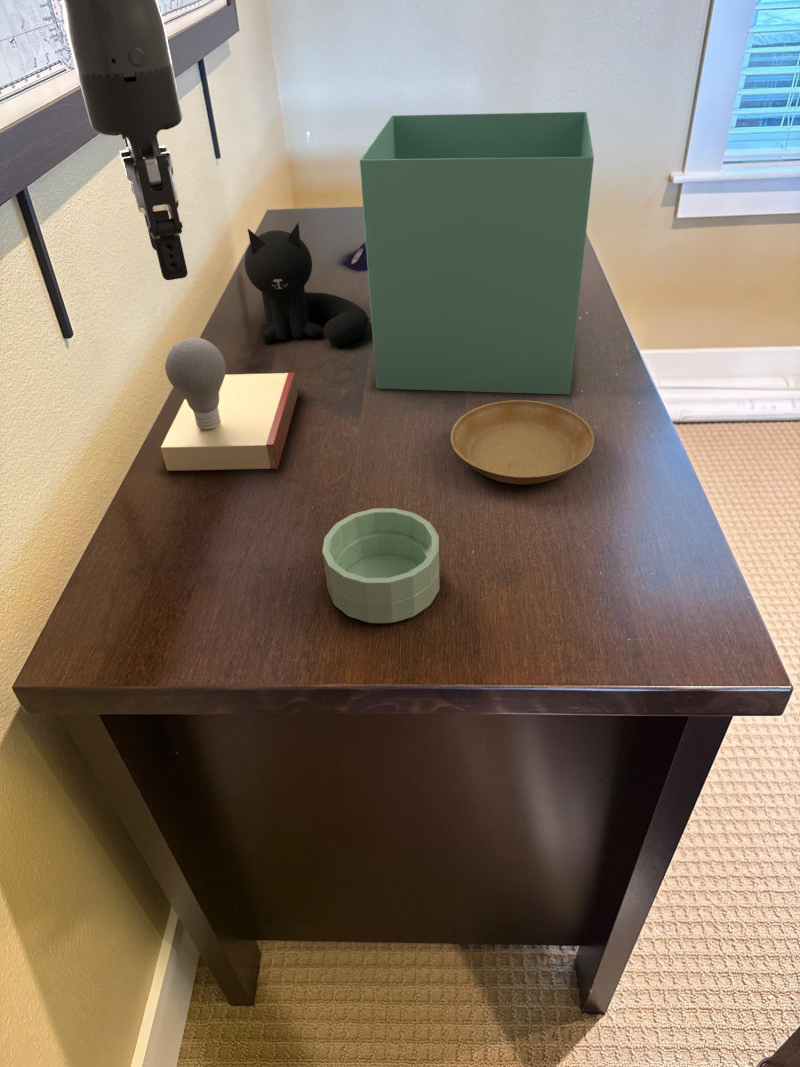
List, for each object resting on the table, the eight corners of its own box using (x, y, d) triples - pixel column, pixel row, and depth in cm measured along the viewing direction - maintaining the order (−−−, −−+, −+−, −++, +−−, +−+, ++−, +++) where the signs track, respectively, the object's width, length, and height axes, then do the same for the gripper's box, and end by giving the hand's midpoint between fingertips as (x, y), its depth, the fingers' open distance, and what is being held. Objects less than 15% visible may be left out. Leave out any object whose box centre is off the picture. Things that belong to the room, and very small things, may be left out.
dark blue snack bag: (332, 259, 131) (330, 235, 128) (402, 238, 137) (402, 215, 135) (363, 274, 125) (361, 249, 122) (435, 251, 131) (435, 227, 129)
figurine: (252, 358, 103) (231, 244, 94) (258, 315, 114) (240, 210, 104) (372, 348, 103) (363, 234, 94) (367, 307, 114) (358, 201, 105)
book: (277, 469, 82) (273, 444, 80) (167, 471, 83) (160, 447, 81) (297, 395, 95) (294, 372, 93) (201, 397, 95) (196, 374, 93)
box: (566, 321, 107) (586, 111, 91) (569, 394, 92) (593, 157, 75) (401, 318, 111) (391, 115, 94) (376, 388, 95) (359, 159, 78)
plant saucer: (584, 506, 75) (587, 484, 73) (436, 487, 78) (435, 466, 77) (597, 427, 86) (599, 407, 84) (466, 414, 89) (466, 394, 88)
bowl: (347, 640, 62) (342, 595, 59) (316, 567, 70) (309, 524, 66) (457, 608, 65) (457, 563, 62) (416, 540, 72) (414, 497, 69)
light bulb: (170, 435, 83) (146, 349, 76) (201, 408, 87) (181, 324, 81) (218, 445, 81) (197, 357, 74) (247, 417, 85) (230, 331, 79)
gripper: (72, 56, 67) (122, 246, 77) (78, 79, 56) (136, 296, 66) (160, 47, 69) (198, 234, 79) (182, 69, 58) (222, 281, 68)
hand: (169, 262), depth 73 cm, fingers open, 8 cm apart
